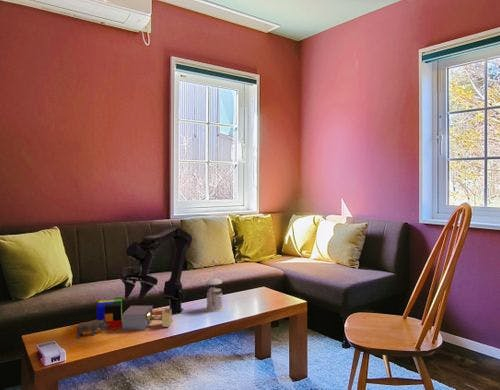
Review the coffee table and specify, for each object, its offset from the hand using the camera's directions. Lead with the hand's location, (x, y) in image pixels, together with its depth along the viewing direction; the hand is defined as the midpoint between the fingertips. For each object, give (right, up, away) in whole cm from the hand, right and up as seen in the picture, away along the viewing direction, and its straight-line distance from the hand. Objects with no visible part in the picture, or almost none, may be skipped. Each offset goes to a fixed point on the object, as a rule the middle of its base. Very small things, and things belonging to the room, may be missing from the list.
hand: (132, 299), depth 168 cm
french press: (+32, -13, +30) cm, 46 cm away
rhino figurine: (-16, -15, -1) cm, 22 cm away
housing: (0, -14, +8) cm, 16 cm away
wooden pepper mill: (+6, -13, +8) cm, 17 cm away
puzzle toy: (-13, -14, +10) cm, 22 cm away
